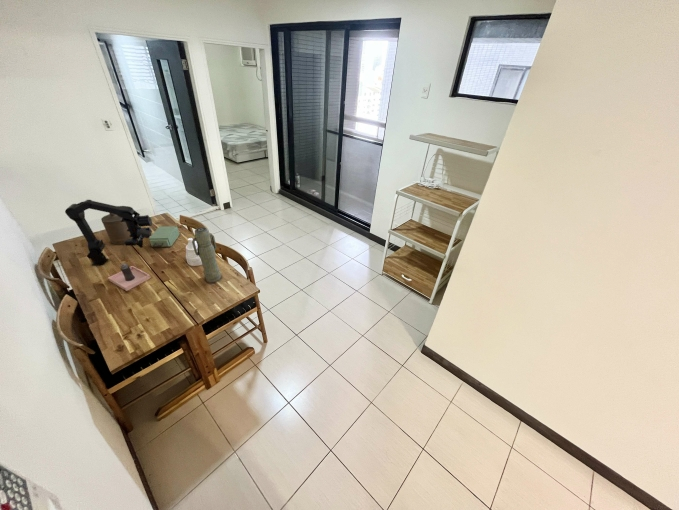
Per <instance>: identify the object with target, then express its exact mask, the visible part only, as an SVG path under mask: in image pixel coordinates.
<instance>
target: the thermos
mask: <svg viewBox="0 0 679 510" xmlns="http://www.w3.org/2000/svg"><path fill="white" fill-rule="evenodd" d="M193 234H194V238H192V239H193V240H192V244H193V248H194V251H195V254H196V255H197V256H198V255H199V257H200V258H201V261H202V265H201V266H202V268H203V276H204V278H205V281H206V283H209V284H214V283H218V282H219V281H220V280H221V279H222V276H221V269H220V268H219V266H218V262H217V258H216V250H217V247H218V246H217V243H216V239H215V235H214V234H212V233H210V232H209V230H208V229H207V227H203V226H202V227H197V228H196V229H195V230H194V233H193ZM195 241H196V242H197V246H198V247H197V249H196V246H195ZM197 250H198V252H197Z"/></svg>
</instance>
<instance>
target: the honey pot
mask: <svg viewBox="0 0 679 510" xmlns="http://www.w3.org/2000/svg"><path fill="white" fill-rule="evenodd" d="M193 239H194V238H192V237H189V238H187V241H188V242H187V244H186V245H185V260H186V262H187V264H188V265H189V266H191V267H198V266H203V265H202V261H201V258H200V257H199V255H198V256H197V255H196V254H195V251H194V248H193V244H192V240H193ZM195 246H196V249H197V247H198V246H197V242H196V241H195ZM197 252H198V250H197Z"/></svg>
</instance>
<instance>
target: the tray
mask: <svg viewBox="0 0 679 510" xmlns="http://www.w3.org/2000/svg"><path fill="white" fill-rule="evenodd" d="M129 267H130V269H131V271H132V274H133V275H134V276H135V279H133V280H132V281H126V280H125V277H124V275H123V273H122V271H121V270H120V271H119V272H117V273H115V274H113V275H111V276H109V277H107V279H108V281H109V282H111V283H112V284H113V285H115V286H117V287H119V288H120V289H122V290H124V291H126V292H128V291H130V290H131V289H133V288H136V287H137V286H139V285H141V284H143V283H144V282H147V281H148V280H149V279H151V278H152V277H151V275H150V274H149V273H147V272H145V271H144V270H141V269H140V268H138V267H136V266H134V265H131V266H129Z"/></svg>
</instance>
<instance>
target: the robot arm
mask: <svg viewBox="0 0 679 510" xmlns="http://www.w3.org/2000/svg"><path fill="white" fill-rule="evenodd" d="M64 210H65V211H64V213H65V214H66V216H67V217H68V218H69V219H70V220H72V221H73V222H75V224H76V225H77V228H78V229H79V230H80V232H81V234H82V235H83V237H84V239H85V240H86V242H87V249H88V254H87V255H86V257H87V258H88V259H90V260H91V262H92V263H91V266H104V265H105V264H106V263H107V262H108V261H109V258H107V257H106V255H105V254H104V253H103V251H104V249H105V246H106V243H104V241H103V239H99V238H97V237H96V235H95V233H94V231H93V229H92V227H90V224H89V222H88V221H87V219H86V216H85V215H86V214H85V211H87V210H95V211H99V212H104V213H107V214H108V213H113V214H116V215H117V216H119V217H122V220H121V222H126V225H127V227H128V229H127V231H129V232H130V235H129V236H130V237H133V238H132V239H127V240H126V241H125V244H124V246H126V247H129V246H131V247H133V246H138V247H139V248H140V249H141V248H144V238H145V239H149V238H150V237H151V235H152V234H153V230H152V228H151V226H152V225H153V220H152V218H151V217H150V216H149V214H145V215H141V214H140V213H139V212H137V211H136V210H135V209H134V208H133V207H132V206H127V205H114V204H108V203H103V202H100V201H95V200H92V199H86V200H83V201H81V202H78V203H72V204H70V205H69V206H68V207H67V208H66V209H64Z"/></svg>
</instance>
